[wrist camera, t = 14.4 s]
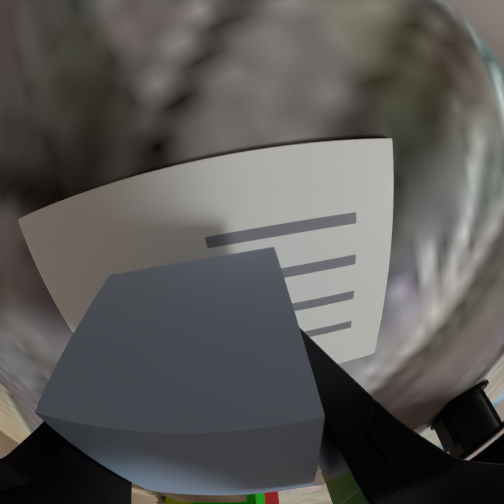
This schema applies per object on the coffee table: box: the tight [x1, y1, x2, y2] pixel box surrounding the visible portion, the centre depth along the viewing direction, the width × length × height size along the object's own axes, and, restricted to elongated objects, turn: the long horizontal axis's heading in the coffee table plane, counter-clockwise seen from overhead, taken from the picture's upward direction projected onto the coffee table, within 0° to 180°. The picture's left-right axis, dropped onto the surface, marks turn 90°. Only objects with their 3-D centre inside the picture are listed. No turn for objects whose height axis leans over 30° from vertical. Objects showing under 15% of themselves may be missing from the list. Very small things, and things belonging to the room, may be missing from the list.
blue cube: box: [35, 247, 325, 495], centre depth 6 cm, size 5×5×5 cm
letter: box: [18, 138, 393, 364], centre depth 10 cm, size 14×10×1 cm
